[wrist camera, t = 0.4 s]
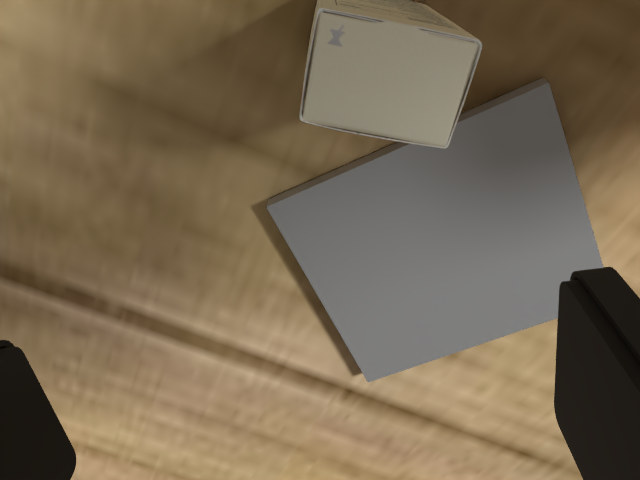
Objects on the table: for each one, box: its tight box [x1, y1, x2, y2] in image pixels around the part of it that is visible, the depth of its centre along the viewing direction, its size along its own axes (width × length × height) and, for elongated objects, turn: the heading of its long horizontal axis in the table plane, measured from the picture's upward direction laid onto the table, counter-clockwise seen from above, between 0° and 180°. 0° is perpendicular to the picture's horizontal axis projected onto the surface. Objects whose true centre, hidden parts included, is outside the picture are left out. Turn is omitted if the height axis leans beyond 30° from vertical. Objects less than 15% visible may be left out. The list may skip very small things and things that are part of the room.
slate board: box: [266, 78, 604, 382], centre depth 37 cm, size 18×16×1 cm
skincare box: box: [299, 0, 482, 149], centre depth 26 cm, size 6×4×12 cm
